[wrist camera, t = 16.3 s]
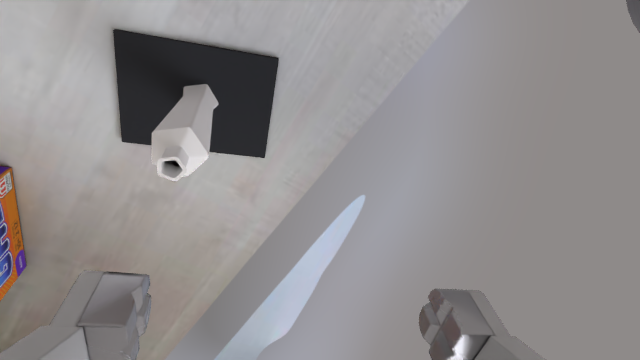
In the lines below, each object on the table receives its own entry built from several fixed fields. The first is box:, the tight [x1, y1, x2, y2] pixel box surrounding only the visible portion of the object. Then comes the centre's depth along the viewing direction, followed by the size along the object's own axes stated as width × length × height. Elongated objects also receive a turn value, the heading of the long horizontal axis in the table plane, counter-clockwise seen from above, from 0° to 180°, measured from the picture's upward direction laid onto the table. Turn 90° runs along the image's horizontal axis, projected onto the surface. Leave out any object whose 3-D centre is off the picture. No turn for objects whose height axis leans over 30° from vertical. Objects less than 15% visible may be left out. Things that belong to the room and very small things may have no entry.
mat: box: [113, 29, 279, 158], centre depth 40 cm, size 16×12×1 cm
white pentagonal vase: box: [151, 84, 219, 181], centre depth 33 cm, size 5×4×15 cm
